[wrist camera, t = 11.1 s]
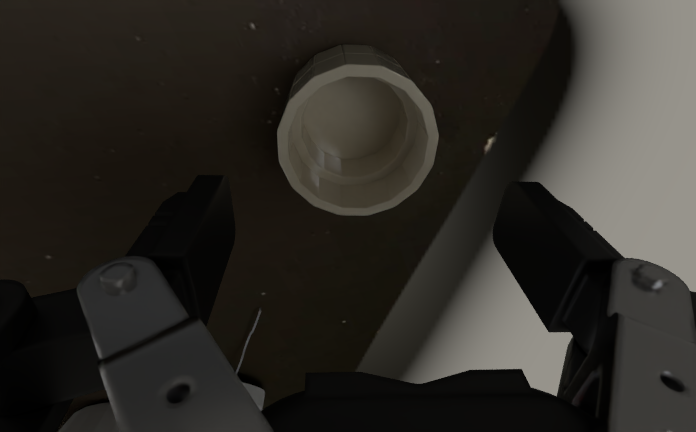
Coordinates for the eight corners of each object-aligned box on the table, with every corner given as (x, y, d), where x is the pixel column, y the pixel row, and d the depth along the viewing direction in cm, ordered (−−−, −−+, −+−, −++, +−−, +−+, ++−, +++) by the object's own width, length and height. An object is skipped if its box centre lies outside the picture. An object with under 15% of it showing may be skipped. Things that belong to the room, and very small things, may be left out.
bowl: (284, 39, 16) (272, 61, 12) (422, 45, 16) (452, 68, 13) (289, 166, 19) (281, 215, 16) (404, 169, 20) (423, 216, 16)
